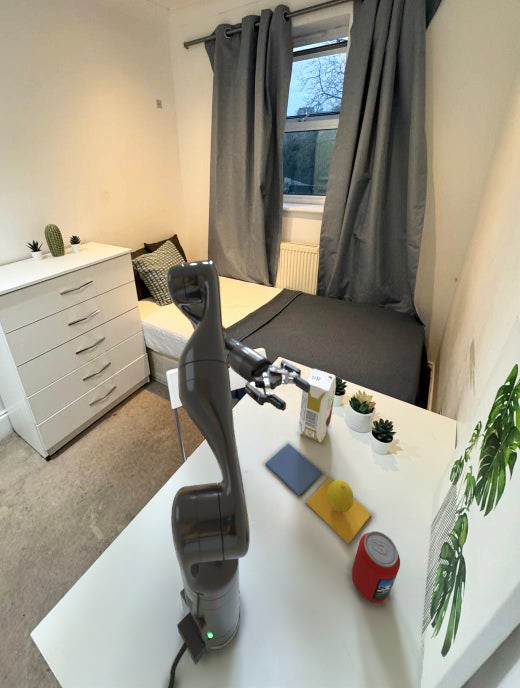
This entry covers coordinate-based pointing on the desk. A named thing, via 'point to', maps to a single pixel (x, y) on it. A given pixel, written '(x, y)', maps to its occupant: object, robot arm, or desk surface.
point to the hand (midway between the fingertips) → (297, 397)
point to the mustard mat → (339, 514)
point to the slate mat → (293, 469)
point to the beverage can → (375, 566)
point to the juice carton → (317, 405)
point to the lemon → (340, 496)
